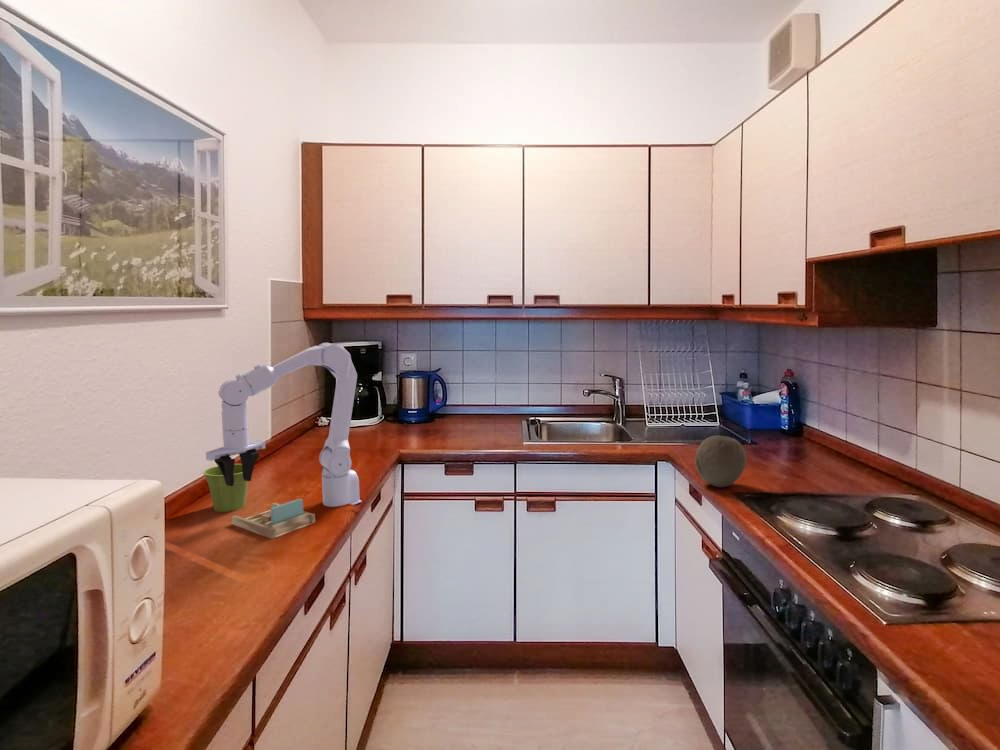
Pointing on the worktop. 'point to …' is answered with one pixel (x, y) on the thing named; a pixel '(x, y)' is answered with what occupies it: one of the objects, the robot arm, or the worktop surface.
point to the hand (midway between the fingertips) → (238, 482)
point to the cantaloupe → (720, 460)
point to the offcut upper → (266, 517)
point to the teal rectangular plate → (286, 511)
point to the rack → (276, 529)
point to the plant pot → (226, 489)
